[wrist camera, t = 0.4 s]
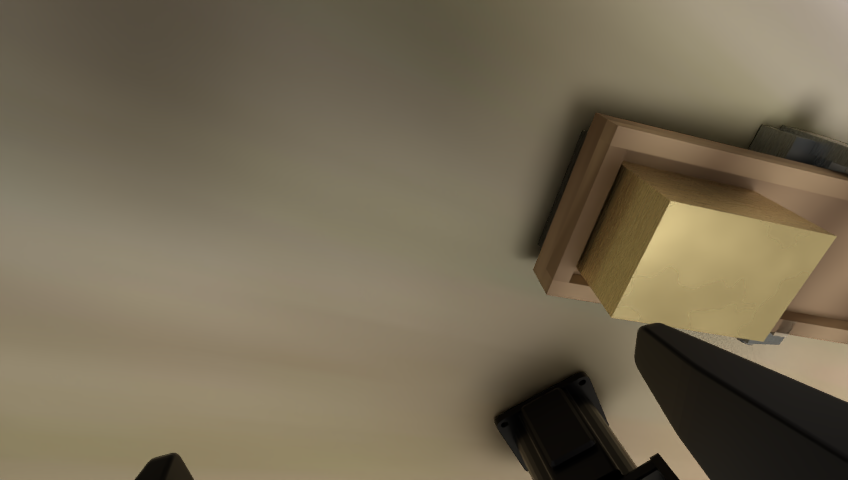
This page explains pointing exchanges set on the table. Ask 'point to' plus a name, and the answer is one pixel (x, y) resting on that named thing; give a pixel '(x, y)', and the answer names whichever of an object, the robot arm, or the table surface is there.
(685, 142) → the brown long shallow tray
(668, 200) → the block
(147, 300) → the table surface
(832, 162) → the pivot stand
